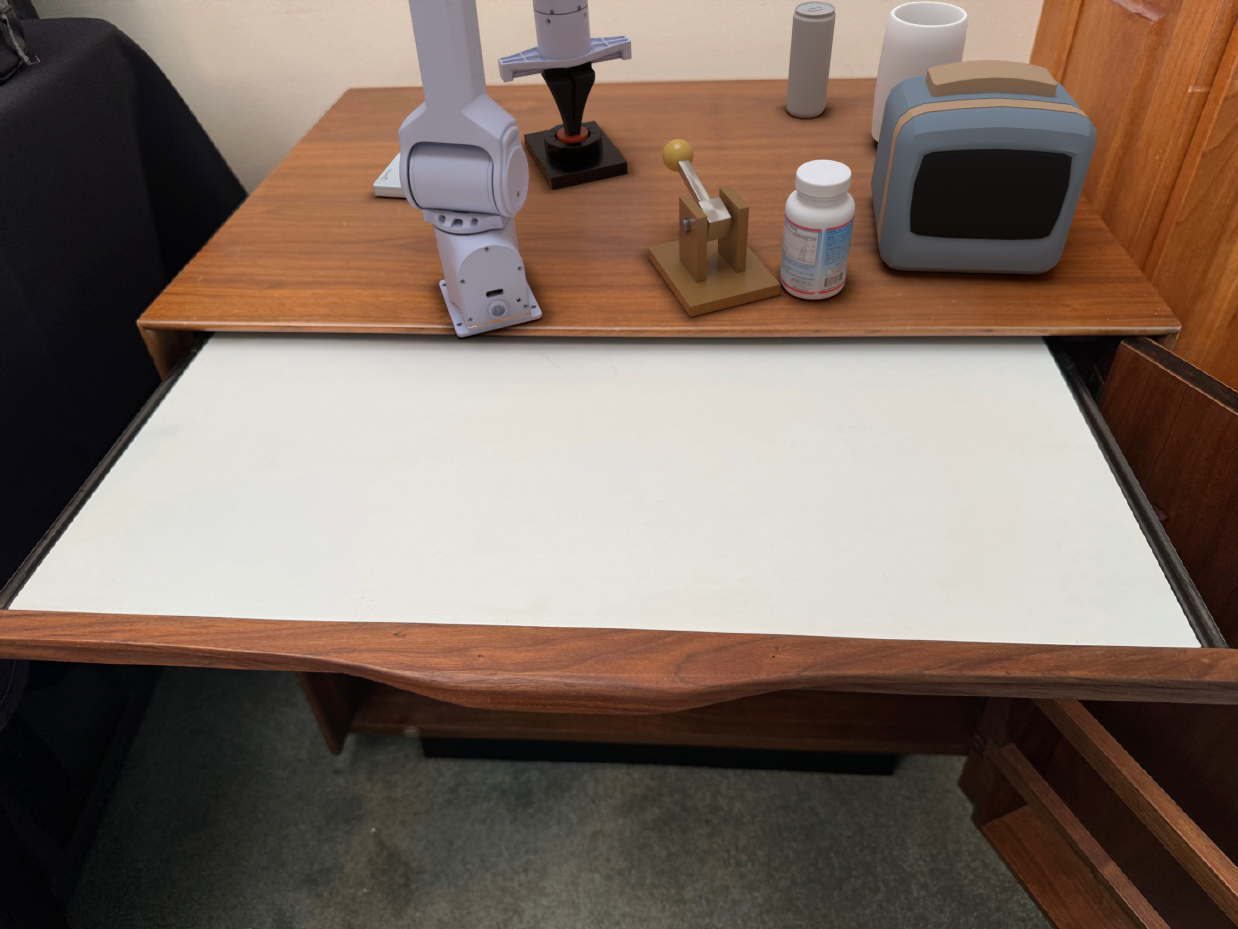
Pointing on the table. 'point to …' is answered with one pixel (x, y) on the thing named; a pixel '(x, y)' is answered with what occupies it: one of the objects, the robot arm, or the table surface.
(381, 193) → the hard drive
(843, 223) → the pill bottle
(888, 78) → the cup
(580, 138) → the button
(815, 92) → the beverage can
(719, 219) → the tap lever
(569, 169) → the button block
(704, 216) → the bracket
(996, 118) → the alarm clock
